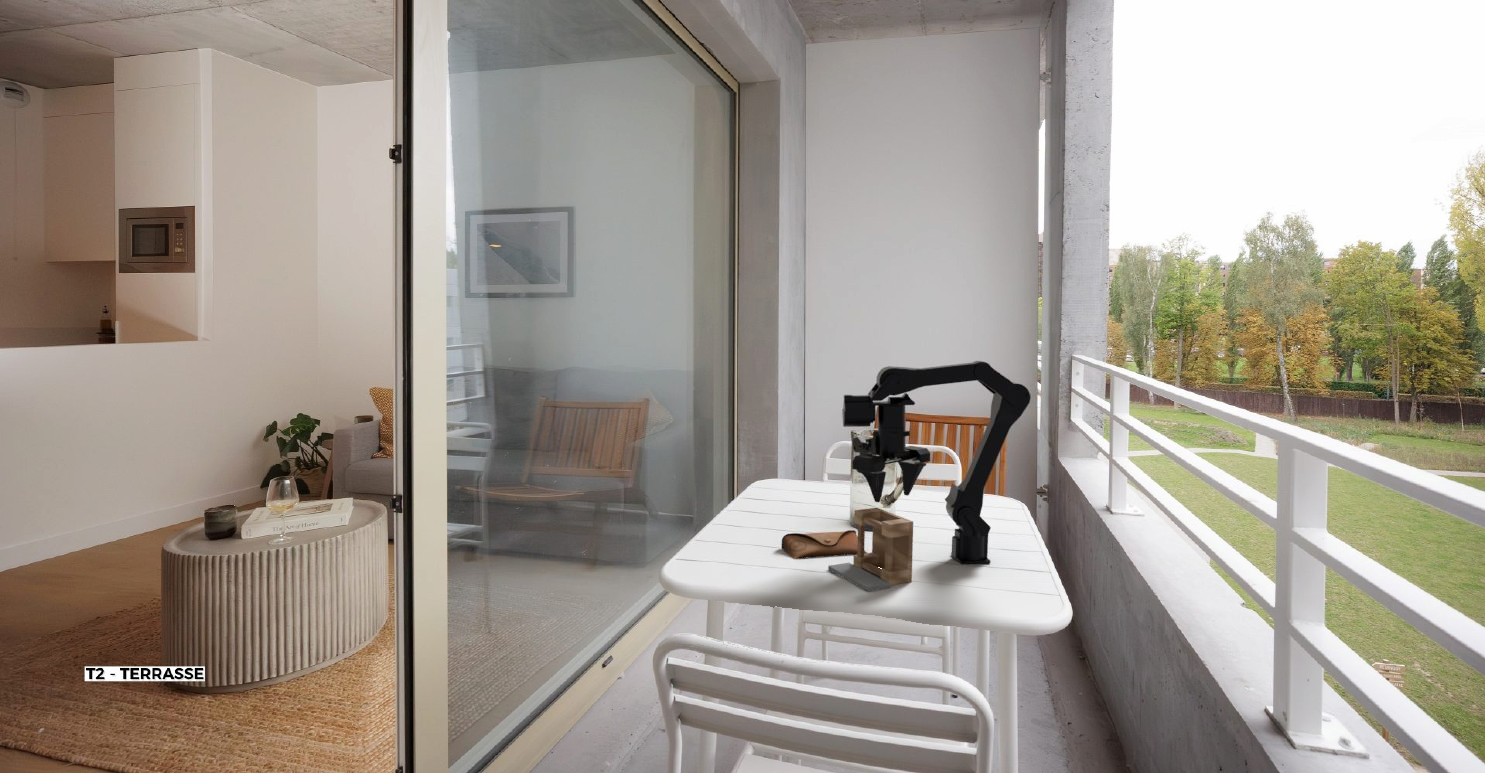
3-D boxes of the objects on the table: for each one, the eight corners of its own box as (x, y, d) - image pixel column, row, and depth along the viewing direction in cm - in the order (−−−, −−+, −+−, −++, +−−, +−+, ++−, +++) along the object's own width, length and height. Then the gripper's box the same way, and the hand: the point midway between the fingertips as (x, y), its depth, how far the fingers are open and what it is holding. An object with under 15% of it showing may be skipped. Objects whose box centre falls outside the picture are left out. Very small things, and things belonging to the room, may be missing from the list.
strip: (848, 566, 161) (848, 562, 161) (889, 587, 148) (890, 583, 148) (828, 569, 158) (828, 565, 158) (868, 591, 146) (868, 587, 146)
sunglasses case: (793, 559, 165) (788, 528, 167) (783, 567, 171) (779, 537, 173) (871, 553, 169) (865, 523, 172) (859, 561, 175) (854, 532, 178)
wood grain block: (875, 563, 162) (876, 507, 161) (911, 581, 152) (913, 521, 151) (853, 567, 160) (854, 510, 159) (888, 585, 149) (890, 524, 148)
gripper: (892, 418, 176) (892, 486, 178) (833, 427, 165) (834, 499, 166) (931, 423, 168) (931, 494, 169) (872, 432, 156) (872, 508, 158)
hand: (892, 498), depth 166 cm, fingers open, 9 cm apart
